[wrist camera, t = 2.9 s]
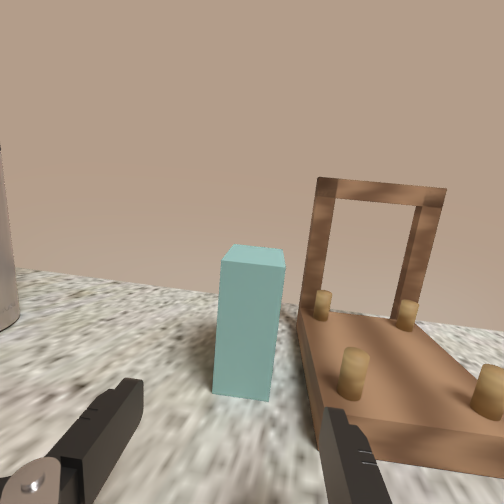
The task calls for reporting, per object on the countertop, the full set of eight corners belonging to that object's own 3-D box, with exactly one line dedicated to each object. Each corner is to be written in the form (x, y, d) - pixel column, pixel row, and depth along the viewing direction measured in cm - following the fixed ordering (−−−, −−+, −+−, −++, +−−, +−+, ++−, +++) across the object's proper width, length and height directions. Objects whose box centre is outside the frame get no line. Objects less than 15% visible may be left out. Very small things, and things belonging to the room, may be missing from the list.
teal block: (212, 393, 20) (221, 260, 18) (225, 349, 26) (233, 244, 24) (268, 401, 20) (285, 267, 18) (269, 355, 26) (282, 249, 24)
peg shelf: (317, 450, 17) (373, 156, 13) (296, 326, 32) (317, 177, 28) (530, 482, 16) (661, 181, 12) (402, 339, 32) (439, 188, 28)
